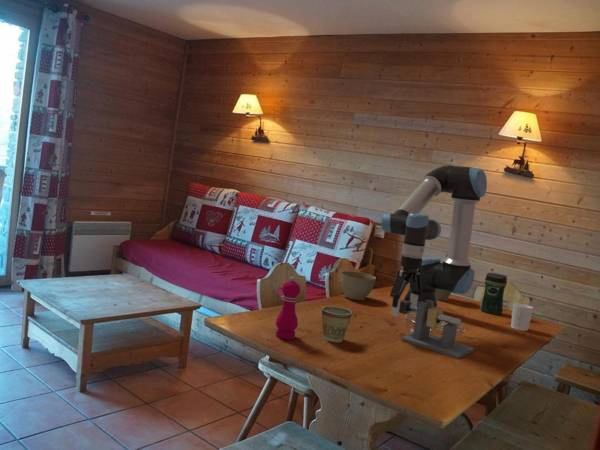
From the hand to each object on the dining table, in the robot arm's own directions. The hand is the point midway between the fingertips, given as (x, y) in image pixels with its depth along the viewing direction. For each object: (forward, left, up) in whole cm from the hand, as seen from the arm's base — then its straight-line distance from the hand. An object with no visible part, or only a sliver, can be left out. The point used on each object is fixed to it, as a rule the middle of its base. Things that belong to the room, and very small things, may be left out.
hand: (403, 313), depth 193 cm
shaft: (+10, 0, +1) cm, 10 cm away
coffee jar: (+7, +76, -8) cm, 77 cm away
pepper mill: (-20, -42, -8) cm, 47 cm away
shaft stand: (+14, 0, -7) cm, 16 cm away
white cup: (+25, +59, -8) cm, 65 cm away
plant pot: (-19, +76, -8) cm, 79 cm away
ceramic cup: (-9, -28, -8) cm, 30 cm away
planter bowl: (-40, +31, -8) cm, 51 cm away
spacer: (+12, 0, -1) cm, 12 cm away
